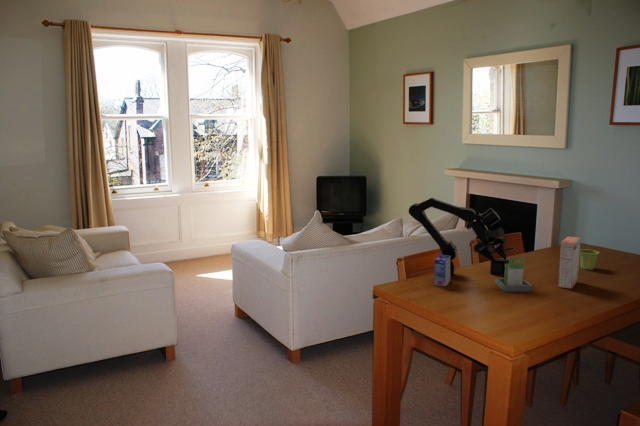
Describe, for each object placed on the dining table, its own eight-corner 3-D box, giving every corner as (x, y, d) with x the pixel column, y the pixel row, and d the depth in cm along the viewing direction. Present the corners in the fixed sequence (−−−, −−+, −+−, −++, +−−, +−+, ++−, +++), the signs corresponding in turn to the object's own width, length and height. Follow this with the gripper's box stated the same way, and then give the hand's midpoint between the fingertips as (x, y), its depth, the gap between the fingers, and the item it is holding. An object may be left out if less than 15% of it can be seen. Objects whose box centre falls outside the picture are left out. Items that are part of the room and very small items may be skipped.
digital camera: (490, 275, 261) (491, 260, 260) (489, 272, 267) (490, 258, 265) (513, 276, 259) (514, 262, 258) (512, 273, 264) (513, 259, 263)
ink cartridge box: (438, 279, 254) (439, 249, 252) (450, 281, 252) (451, 250, 250) (433, 285, 245) (434, 254, 243) (445, 286, 243) (446, 255, 241)
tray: (504, 291, 236) (504, 286, 235) (495, 283, 248) (495, 278, 247) (531, 291, 236) (532, 285, 235) (521, 283, 248) (522, 278, 247)
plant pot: (601, 269, 271) (603, 252, 270) (591, 271, 266) (592, 254, 265) (583, 264, 279) (584, 248, 277) (573, 267, 274) (574, 250, 272)
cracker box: (563, 279, 253) (567, 235, 250) (578, 281, 250) (581, 237, 246) (557, 287, 242) (560, 241, 238) (571, 289, 238) (575, 242, 235)
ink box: (518, 284, 244) (520, 255, 242) (522, 287, 240) (524, 257, 238) (503, 284, 244) (505, 255, 241) (507, 287, 240) (508, 257, 238)
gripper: (481, 223, 242) (501, 252, 236) (504, 220, 254) (523, 248, 248) (465, 237, 250) (483, 266, 243) (488, 233, 262) (506, 261, 255)
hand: (500, 260), depth 247 cm, fingers open, 9 cm apart
